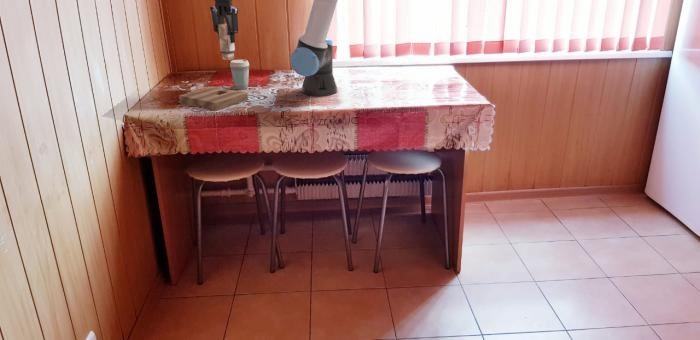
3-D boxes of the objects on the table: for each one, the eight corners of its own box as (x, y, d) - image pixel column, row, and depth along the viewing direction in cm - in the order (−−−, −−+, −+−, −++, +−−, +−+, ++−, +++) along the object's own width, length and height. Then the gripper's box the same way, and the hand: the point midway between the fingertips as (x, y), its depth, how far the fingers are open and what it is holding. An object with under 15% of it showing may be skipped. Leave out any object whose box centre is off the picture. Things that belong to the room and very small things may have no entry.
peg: (235, 58, 215) (232, 24, 209) (228, 60, 212) (225, 25, 206) (228, 57, 217) (225, 23, 211) (221, 59, 214) (218, 24, 208)
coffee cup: (246, 90, 225) (244, 63, 220) (228, 89, 226) (226, 62, 221) (254, 86, 232) (252, 59, 228) (236, 85, 234) (234, 58, 229)
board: (248, 100, 211) (247, 92, 210) (216, 110, 197) (215, 103, 195) (212, 93, 220) (212, 86, 219) (180, 102, 206) (179, 95, 205)
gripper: (245, -10, 203) (249, 50, 212) (213, -11, 211) (219, 47, 220) (231, -8, 197) (236, 53, 206) (199, -10, 205) (206, 49, 214)
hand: (227, 50), depth 213 cm, fingers closed on peg, 4 cm apart
